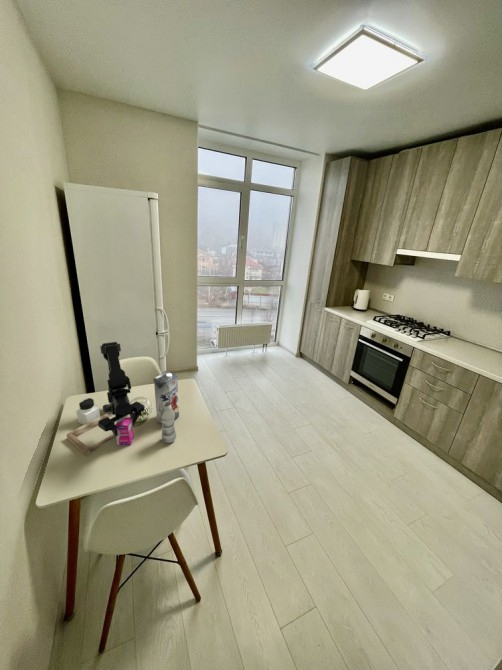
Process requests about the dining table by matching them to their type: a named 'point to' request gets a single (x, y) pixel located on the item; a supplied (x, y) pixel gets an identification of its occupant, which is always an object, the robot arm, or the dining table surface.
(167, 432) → the plastic bottle
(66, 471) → the dining table surface
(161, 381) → the juice carton
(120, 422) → the supplement box
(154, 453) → the dining table surface
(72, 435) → the cleat bracket
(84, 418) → the medicine bottle
